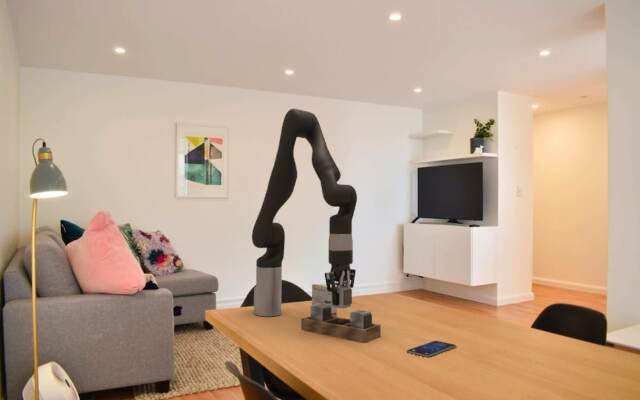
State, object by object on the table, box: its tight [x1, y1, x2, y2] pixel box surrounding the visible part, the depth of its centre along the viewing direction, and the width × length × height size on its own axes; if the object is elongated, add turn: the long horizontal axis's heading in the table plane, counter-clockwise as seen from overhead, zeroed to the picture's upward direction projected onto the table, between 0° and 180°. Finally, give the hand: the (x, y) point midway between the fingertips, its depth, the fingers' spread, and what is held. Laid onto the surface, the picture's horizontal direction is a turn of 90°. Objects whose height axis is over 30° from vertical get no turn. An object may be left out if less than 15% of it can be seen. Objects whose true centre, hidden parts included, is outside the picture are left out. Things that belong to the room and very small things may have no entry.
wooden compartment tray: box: [300, 304, 382, 344], centre depth 145 cm, size 24×9×8 cm, turn 53°
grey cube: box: [331, 285, 353, 310], centre depth 145 cm, size 5×4×6 cm
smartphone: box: [405, 340, 457, 358], centre depth 128 cm, size 7×1×15 cm
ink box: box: [311, 283, 338, 317], centre depth 164 cm, size 8×5×12 cm, turn 39°
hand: (340, 303), depth 145 cm, fingers closed on grey cube, 4 cm apart
